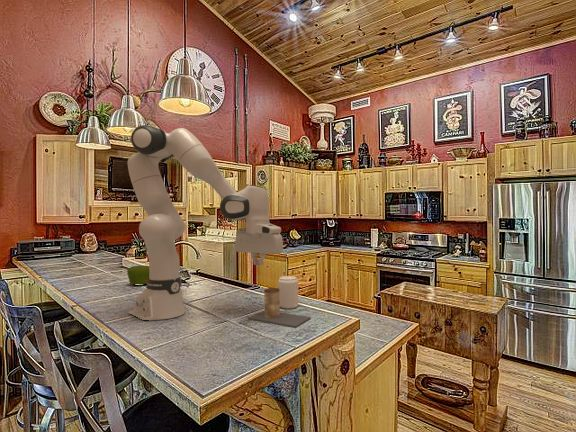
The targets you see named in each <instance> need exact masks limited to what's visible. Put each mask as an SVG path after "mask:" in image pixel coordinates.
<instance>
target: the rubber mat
mask: <svg viewBox="0 0 576 432" xmlns="http://www.w3.org/2000/svg"><path fill="white" fill-rule="evenodd" d="M247 320H250V321H251V320H252V321H255V322H261V323H268V324H272V325H278V326H283V327H289V328H294V329H296V328H298V327H301V326H302V325H303V324H305V323H306V322H308V321H309V320H311V317H310V316H307V315H306V316H305V315H300V314H299V315H298V314H293V313H285V312H280V316H278V317H276V318H268V317H265V309H264V310H262V311H259V312H257V313H256V314H253V315H251V316H249V317H247Z"/></svg>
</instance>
